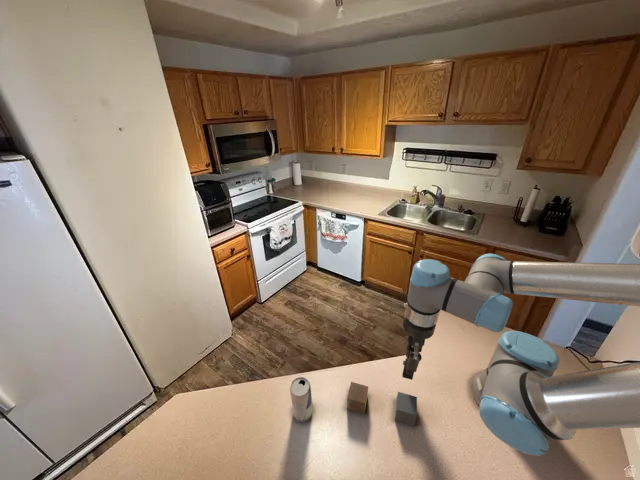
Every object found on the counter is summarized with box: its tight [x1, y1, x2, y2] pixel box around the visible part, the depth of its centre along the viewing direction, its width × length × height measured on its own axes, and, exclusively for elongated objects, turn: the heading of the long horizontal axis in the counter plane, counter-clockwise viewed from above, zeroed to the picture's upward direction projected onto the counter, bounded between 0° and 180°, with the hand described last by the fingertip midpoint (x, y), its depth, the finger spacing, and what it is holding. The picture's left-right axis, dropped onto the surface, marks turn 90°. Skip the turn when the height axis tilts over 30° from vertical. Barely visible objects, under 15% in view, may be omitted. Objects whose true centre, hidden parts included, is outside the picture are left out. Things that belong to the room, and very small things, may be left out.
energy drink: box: [289, 376, 314, 423], centre depth 69 cm, size 5×5×12 cm
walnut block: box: [346, 381, 369, 415], centre depth 73 cm, size 5×5×5 cm
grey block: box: [394, 391, 418, 427], centre depth 70 cm, size 5×5×5 cm
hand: (407, 376), depth 75 cm, fingers closed
